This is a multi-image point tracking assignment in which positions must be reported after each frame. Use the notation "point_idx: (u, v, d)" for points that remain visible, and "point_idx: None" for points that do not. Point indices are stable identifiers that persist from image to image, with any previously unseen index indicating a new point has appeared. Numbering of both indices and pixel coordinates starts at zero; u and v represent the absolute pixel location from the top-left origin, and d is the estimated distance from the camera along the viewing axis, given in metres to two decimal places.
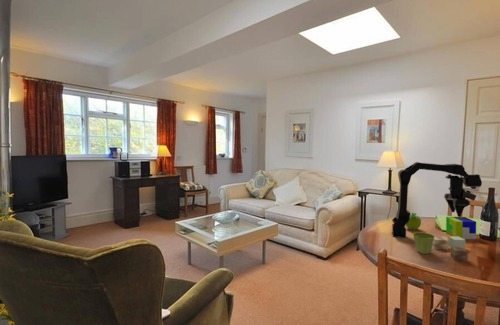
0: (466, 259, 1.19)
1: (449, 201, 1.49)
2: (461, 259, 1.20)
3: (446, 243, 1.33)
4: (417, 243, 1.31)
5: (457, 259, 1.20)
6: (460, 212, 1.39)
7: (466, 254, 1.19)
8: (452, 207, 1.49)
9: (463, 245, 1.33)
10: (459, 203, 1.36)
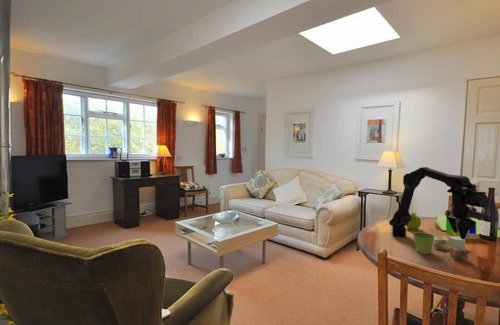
0: (466, 259, 1.19)
1: (451, 219, 1.26)
2: (461, 259, 1.20)
3: (446, 243, 1.33)
4: (417, 243, 1.31)
5: (457, 259, 1.20)
6: (464, 234, 1.16)
7: (466, 254, 1.19)
8: (454, 227, 1.26)
9: (463, 245, 1.33)
10: (463, 224, 1.13)
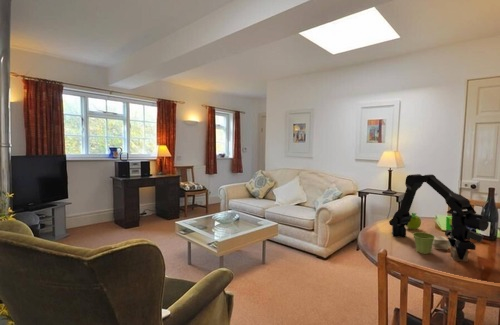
0: (466, 259, 1.19)
1: (452, 241, 1.25)
2: (461, 259, 1.20)
3: (446, 243, 1.33)
4: (417, 243, 1.31)
5: (457, 259, 1.20)
6: (462, 255, 1.19)
7: (466, 254, 1.19)
8: None
9: None
10: (463, 247, 1.13)
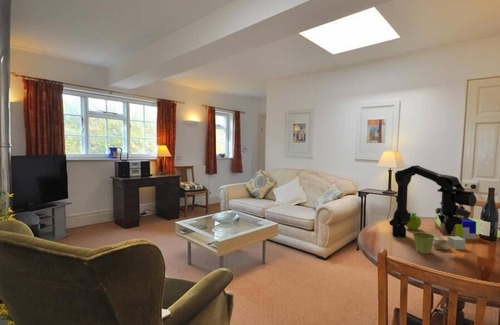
0: (454, 234, 1.26)
1: (442, 218, 1.32)
2: (449, 234, 1.27)
3: (446, 243, 1.33)
4: (417, 243, 1.31)
5: (445, 234, 1.27)
6: (450, 230, 1.26)
7: (454, 229, 1.26)
8: None
9: (463, 245, 1.33)
10: (450, 222, 1.21)
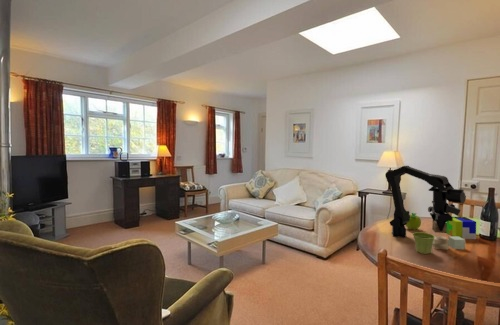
0: (445, 230, 1.33)
1: (434, 216, 1.39)
2: None
3: (446, 243, 1.33)
4: (417, 243, 1.31)
5: (437, 231, 1.34)
6: (442, 227, 1.33)
7: (445, 226, 1.33)
8: None
9: (463, 245, 1.33)
10: (441, 219, 1.27)
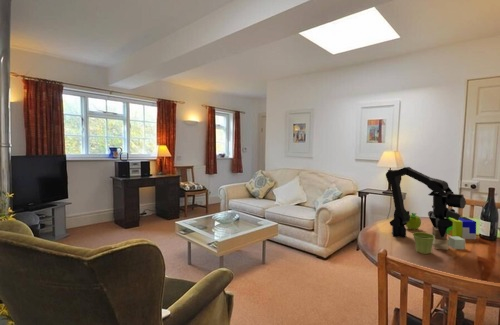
0: (445, 237, 1.33)
1: (433, 219, 1.41)
2: (441, 237, 1.34)
3: (446, 243, 1.33)
4: (417, 243, 1.31)
5: (437, 237, 1.34)
6: (443, 233, 1.31)
7: (445, 233, 1.33)
8: (436, 226, 1.40)
9: (463, 245, 1.33)
10: (442, 224, 1.28)
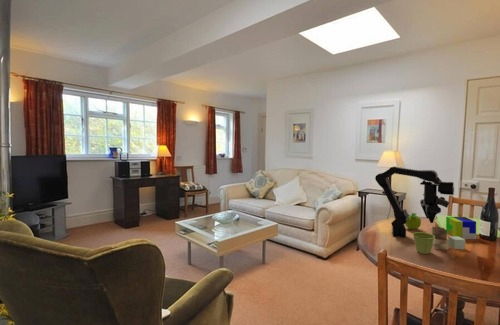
0: (445, 237, 1.33)
1: (424, 207, 1.49)
2: (441, 237, 1.34)
3: (446, 243, 1.33)
4: (417, 243, 1.31)
5: (437, 237, 1.34)
6: (432, 219, 1.39)
7: (445, 233, 1.33)
8: (427, 213, 1.49)
9: (463, 245, 1.33)
10: (430, 210, 1.36)
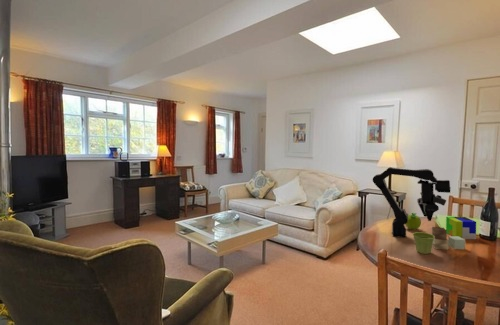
0: (445, 237, 1.33)
1: (421, 206, 1.52)
2: (441, 237, 1.34)
3: (446, 243, 1.33)
4: (417, 243, 1.31)
5: (437, 237, 1.34)
6: (430, 217, 1.42)
7: (445, 233, 1.33)
8: (424, 211, 1.51)
9: (463, 245, 1.33)
10: (428, 208, 1.39)
